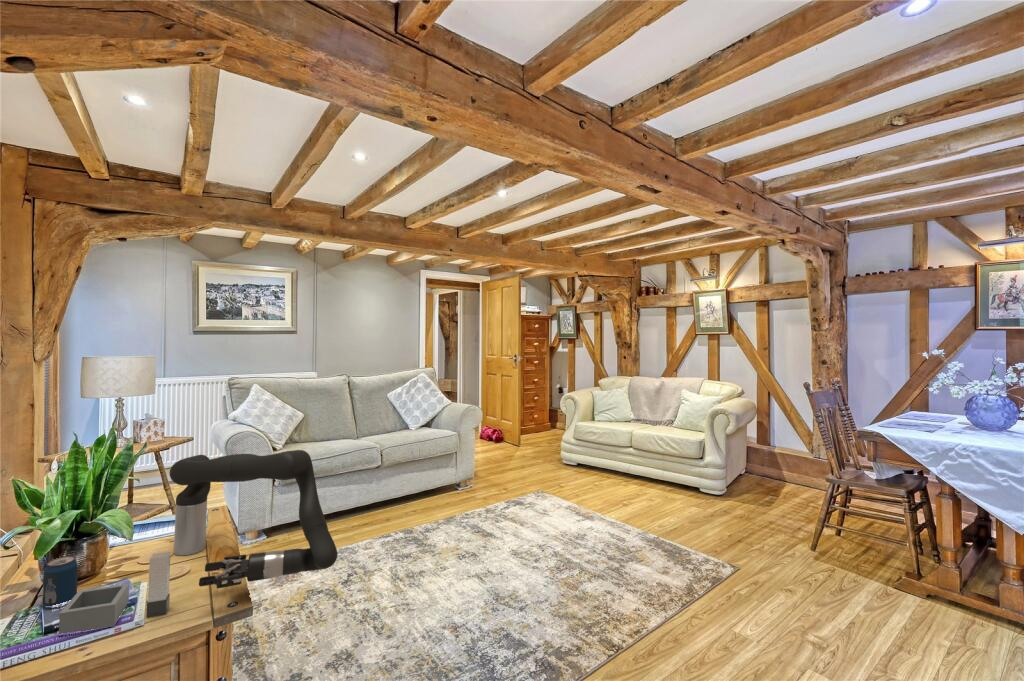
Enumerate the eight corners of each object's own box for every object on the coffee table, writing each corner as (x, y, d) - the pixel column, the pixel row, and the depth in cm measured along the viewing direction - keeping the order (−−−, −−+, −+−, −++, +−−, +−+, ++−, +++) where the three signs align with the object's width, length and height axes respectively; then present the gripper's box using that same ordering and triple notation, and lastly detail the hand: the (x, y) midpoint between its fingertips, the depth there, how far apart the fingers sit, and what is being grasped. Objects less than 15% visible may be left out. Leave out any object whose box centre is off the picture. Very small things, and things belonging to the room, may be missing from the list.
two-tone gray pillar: (149, 611, 127) (152, 553, 127) (169, 607, 129) (171, 551, 129) (146, 618, 124) (148, 559, 124) (166, 614, 126) (168, 556, 126)
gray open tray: (78, 612, 125) (78, 590, 125) (128, 604, 129) (129, 583, 129) (58, 637, 115) (59, 613, 115) (114, 627, 120) (115, 604, 120)
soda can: (77, 593, 134) (79, 552, 134) (75, 604, 129) (77, 561, 129) (43, 601, 129) (45, 559, 129) (40, 613, 124) (42, 569, 124)
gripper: (268, 542, 144) (207, 550, 137) (265, 563, 131) (197, 573, 124) (267, 566, 144) (206, 575, 137) (264, 589, 131) (196, 601, 124)
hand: (202, 574), depth 131 cm, fingers open, 8 cm apart
